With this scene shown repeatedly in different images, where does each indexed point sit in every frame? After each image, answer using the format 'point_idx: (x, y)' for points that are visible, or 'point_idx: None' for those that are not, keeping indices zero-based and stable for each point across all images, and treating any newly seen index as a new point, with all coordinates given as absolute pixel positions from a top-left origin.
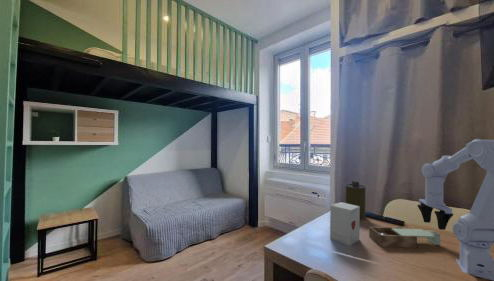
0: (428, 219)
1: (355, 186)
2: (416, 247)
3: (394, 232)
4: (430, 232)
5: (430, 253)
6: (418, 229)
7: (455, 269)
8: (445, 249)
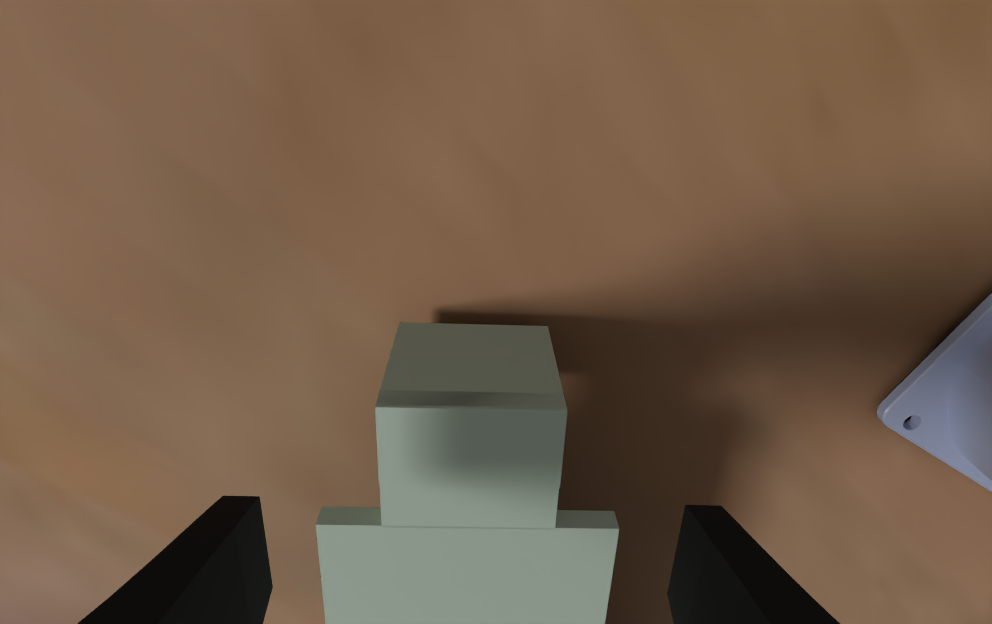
0: (230, 585)
1: None
2: None
3: None
4: (460, 486)
5: None
6: (338, 577)
7: (989, 533)
8: (613, 298)
